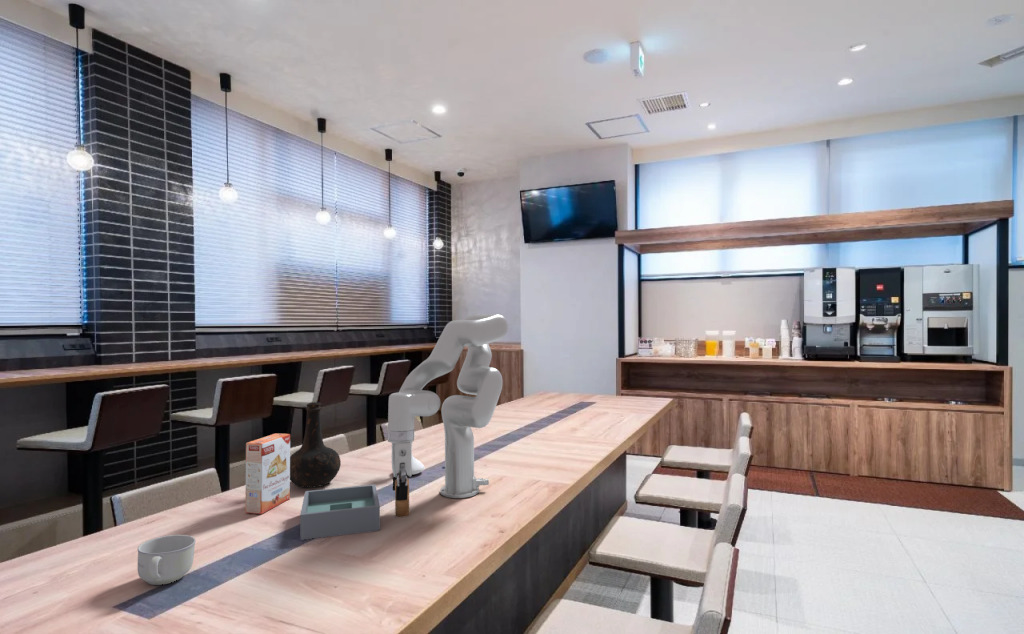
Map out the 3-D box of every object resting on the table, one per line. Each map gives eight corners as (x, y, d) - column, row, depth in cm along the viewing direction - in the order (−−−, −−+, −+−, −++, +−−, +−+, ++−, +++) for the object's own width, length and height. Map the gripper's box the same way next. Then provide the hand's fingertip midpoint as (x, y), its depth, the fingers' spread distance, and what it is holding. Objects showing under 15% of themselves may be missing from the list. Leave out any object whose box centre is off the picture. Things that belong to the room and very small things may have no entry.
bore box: (375, 505, 164) (375, 484, 164) (380, 530, 145) (379, 506, 145) (305, 513, 158) (305, 491, 158) (300, 540, 139) (300, 515, 139)
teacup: (155, 568, 124) (155, 533, 124) (204, 566, 125) (204, 531, 125) (116, 599, 110) (116, 560, 110) (172, 597, 111) (171, 558, 111)
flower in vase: (421, 477, 193) (420, 407, 192) (389, 477, 193) (389, 407, 193) (427, 467, 206) (427, 402, 206) (398, 467, 206) (397, 402, 206)
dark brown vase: (296, 496, 174) (296, 409, 174) (278, 483, 187) (277, 402, 187) (349, 484, 186) (349, 403, 185) (328, 473, 199) (328, 397, 199)
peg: (408, 511, 160) (408, 477, 160) (410, 516, 156) (409, 481, 156) (394, 512, 158) (394, 478, 158) (396, 517, 155) (395, 482, 154)
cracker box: (262, 515, 157) (262, 443, 157) (244, 513, 158) (244, 442, 158) (291, 499, 171) (291, 433, 171) (274, 498, 172) (274, 432, 172)
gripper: (418, 440, 150) (416, 503, 149) (410, 429, 166) (409, 485, 166) (390, 442, 147) (389, 505, 147) (385, 430, 164) (384, 487, 163)
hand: (399, 494), depth 156 cm, fingers open, 9 cm apart
